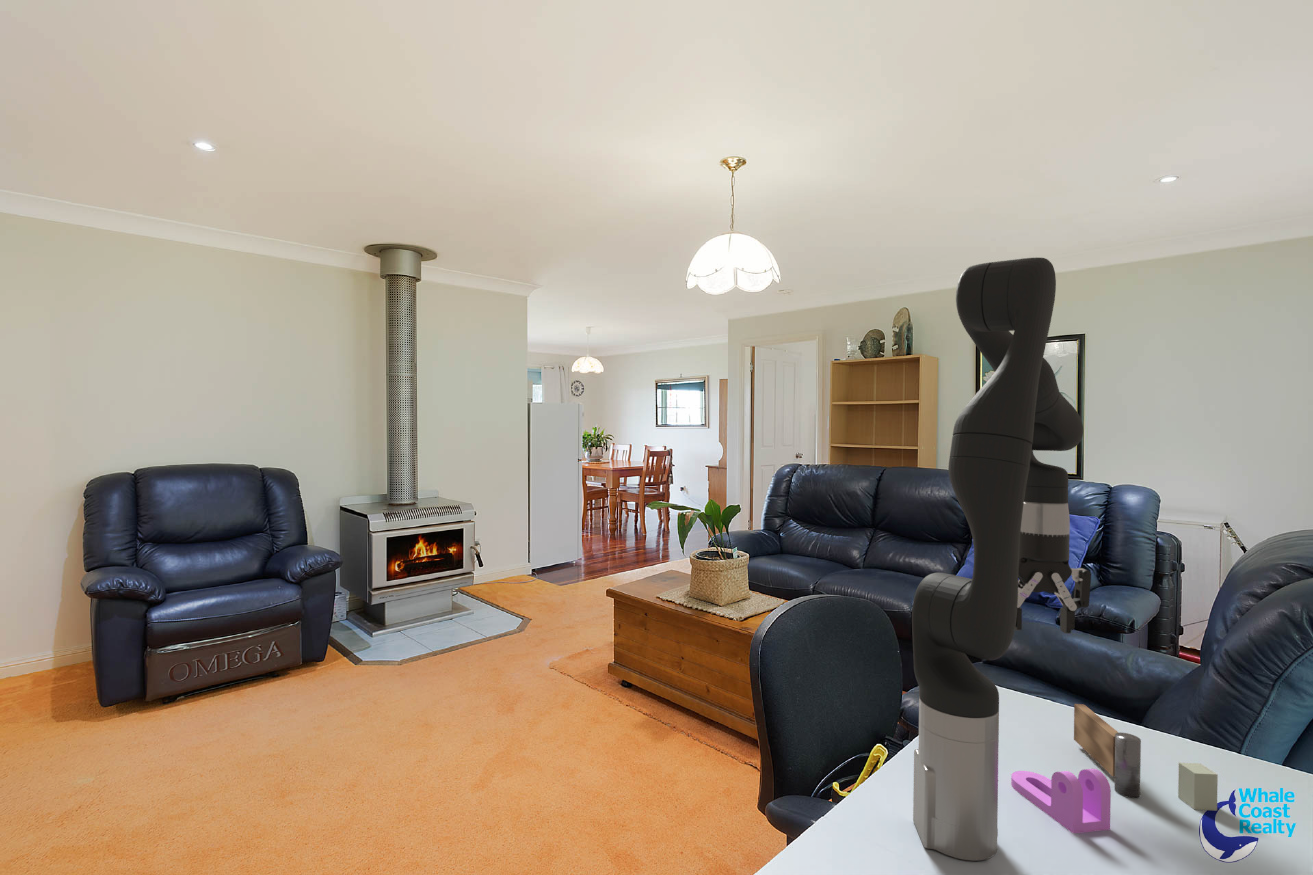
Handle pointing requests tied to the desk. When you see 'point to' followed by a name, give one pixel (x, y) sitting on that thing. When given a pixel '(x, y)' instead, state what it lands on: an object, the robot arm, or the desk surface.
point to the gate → (1095, 737)
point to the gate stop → (1197, 786)
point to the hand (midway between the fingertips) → (1041, 630)
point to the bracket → (1069, 797)
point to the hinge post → (1127, 764)
